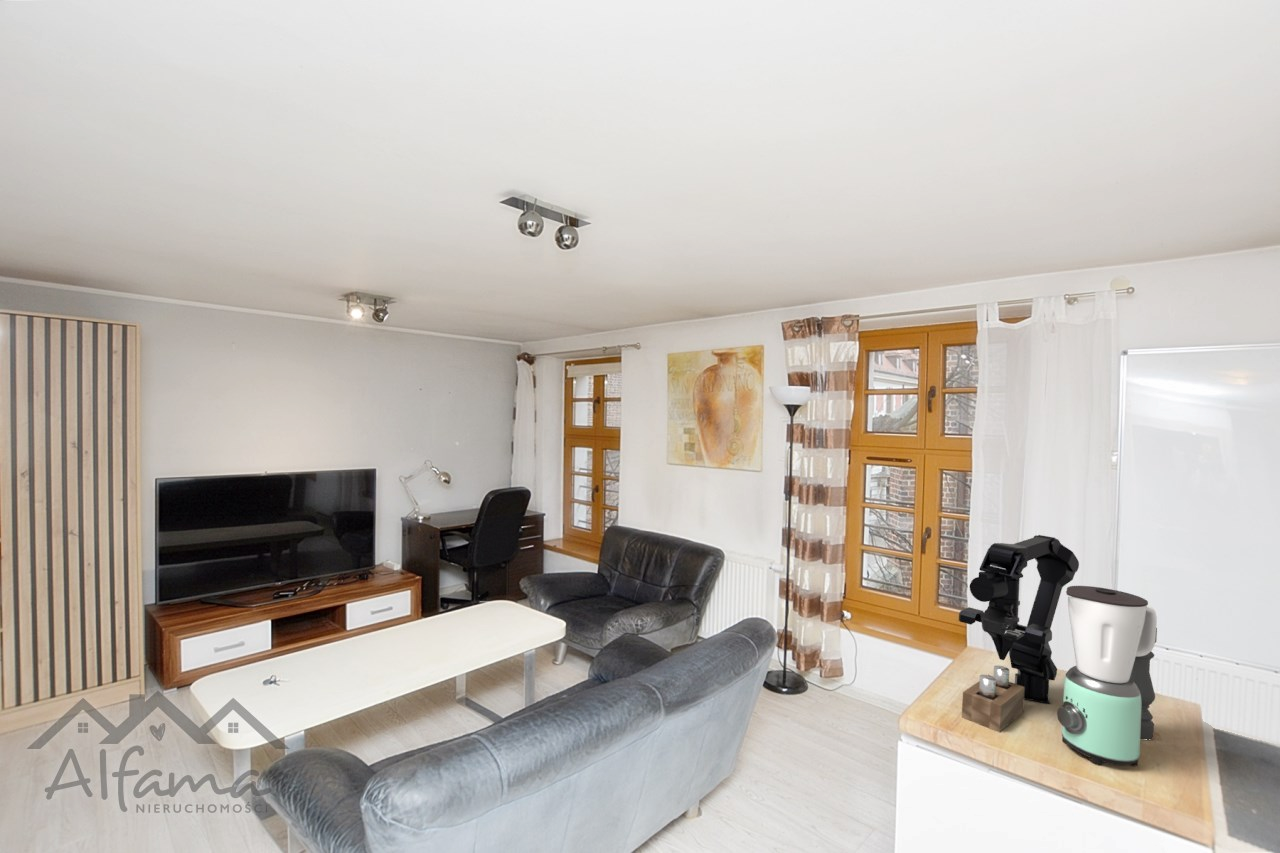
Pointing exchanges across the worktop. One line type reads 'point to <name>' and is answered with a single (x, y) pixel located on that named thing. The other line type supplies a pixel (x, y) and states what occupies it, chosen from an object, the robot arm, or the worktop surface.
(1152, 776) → the worktop surface
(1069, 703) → the mint green blender
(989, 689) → the front peg
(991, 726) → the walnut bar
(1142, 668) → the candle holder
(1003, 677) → the back peg
